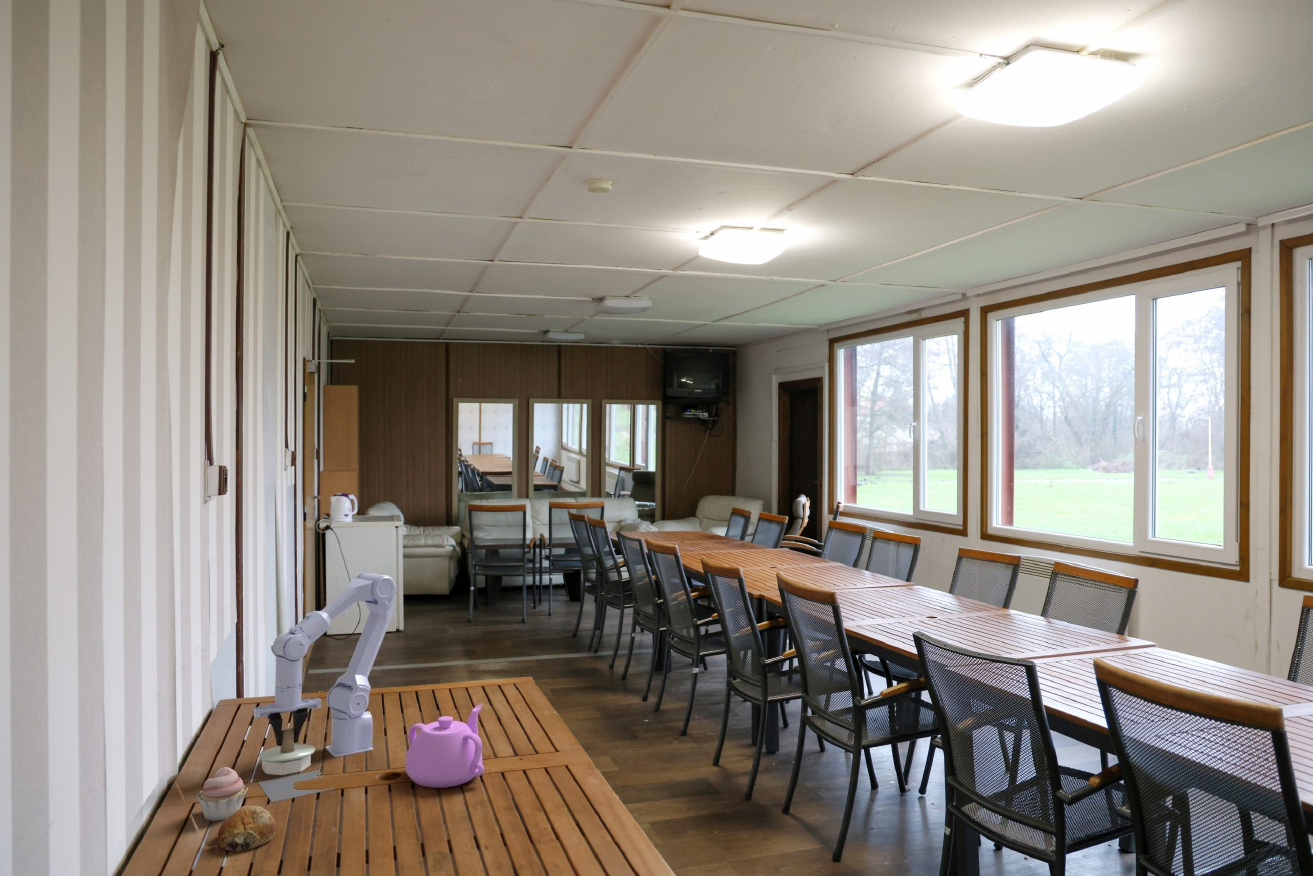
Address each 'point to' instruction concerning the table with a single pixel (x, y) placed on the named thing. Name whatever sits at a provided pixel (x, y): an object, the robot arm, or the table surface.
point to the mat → (288, 786)
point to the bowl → (286, 766)
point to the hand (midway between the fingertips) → (287, 743)
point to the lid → (287, 749)
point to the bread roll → (246, 829)
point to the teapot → (445, 752)
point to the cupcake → (222, 795)
